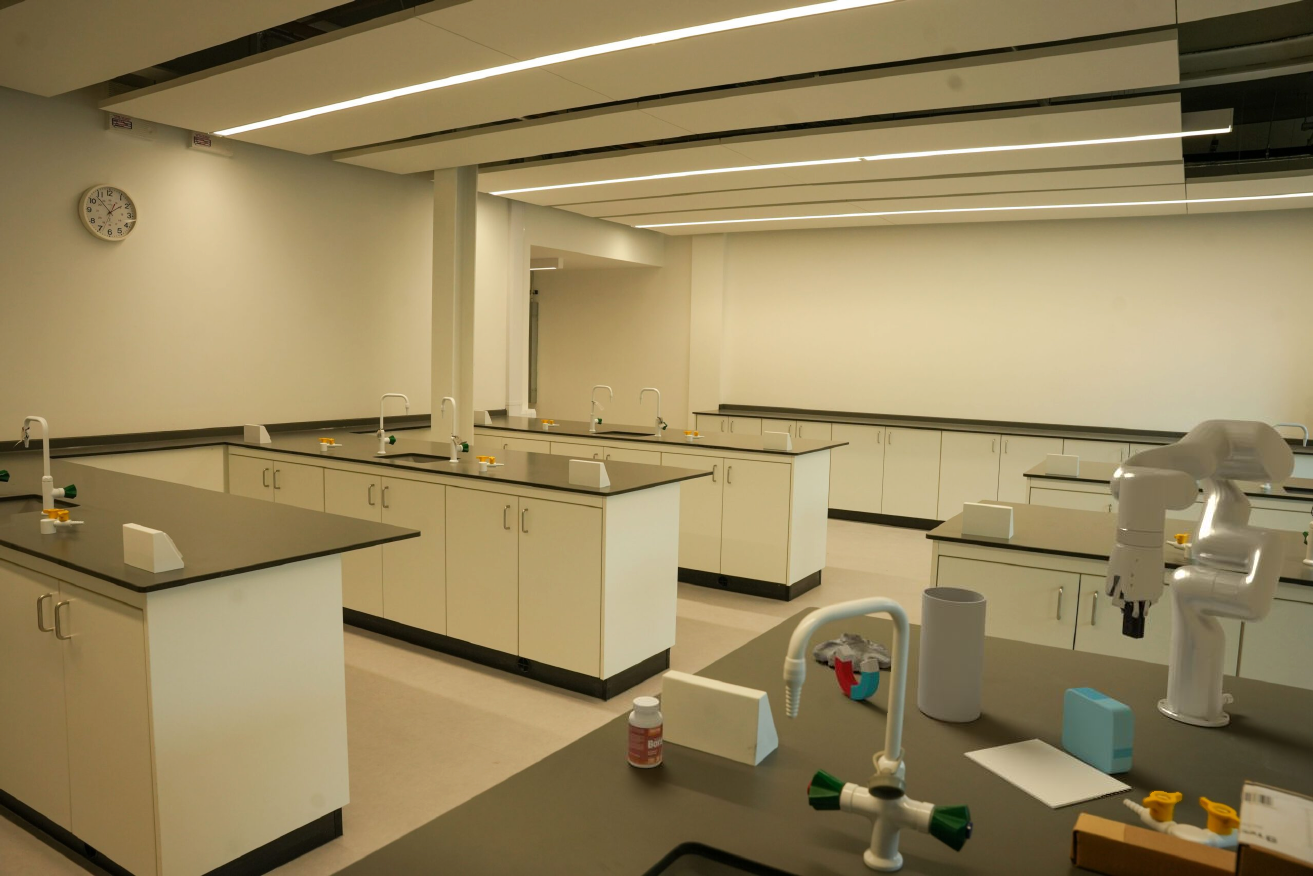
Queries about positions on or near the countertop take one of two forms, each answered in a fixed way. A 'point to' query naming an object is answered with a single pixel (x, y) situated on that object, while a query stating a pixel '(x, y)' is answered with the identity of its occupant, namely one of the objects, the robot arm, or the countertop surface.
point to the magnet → (847, 678)
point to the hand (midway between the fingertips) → (1132, 636)
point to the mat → (1046, 773)
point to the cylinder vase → (951, 653)
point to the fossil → (858, 646)
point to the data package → (1098, 730)
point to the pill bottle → (645, 733)
